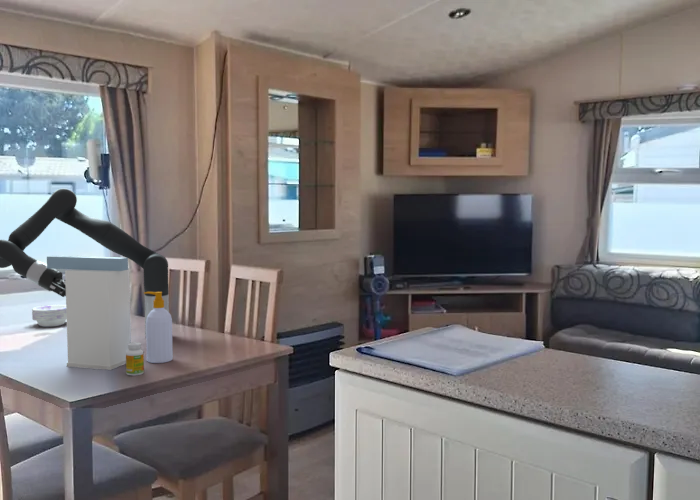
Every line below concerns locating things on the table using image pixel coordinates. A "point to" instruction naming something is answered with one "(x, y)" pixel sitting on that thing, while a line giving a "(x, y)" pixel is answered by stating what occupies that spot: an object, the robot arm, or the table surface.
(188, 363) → the table surface
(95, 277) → the storage box
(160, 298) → the soap bottle
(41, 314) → the paper bowls
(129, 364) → the supplement bottle
